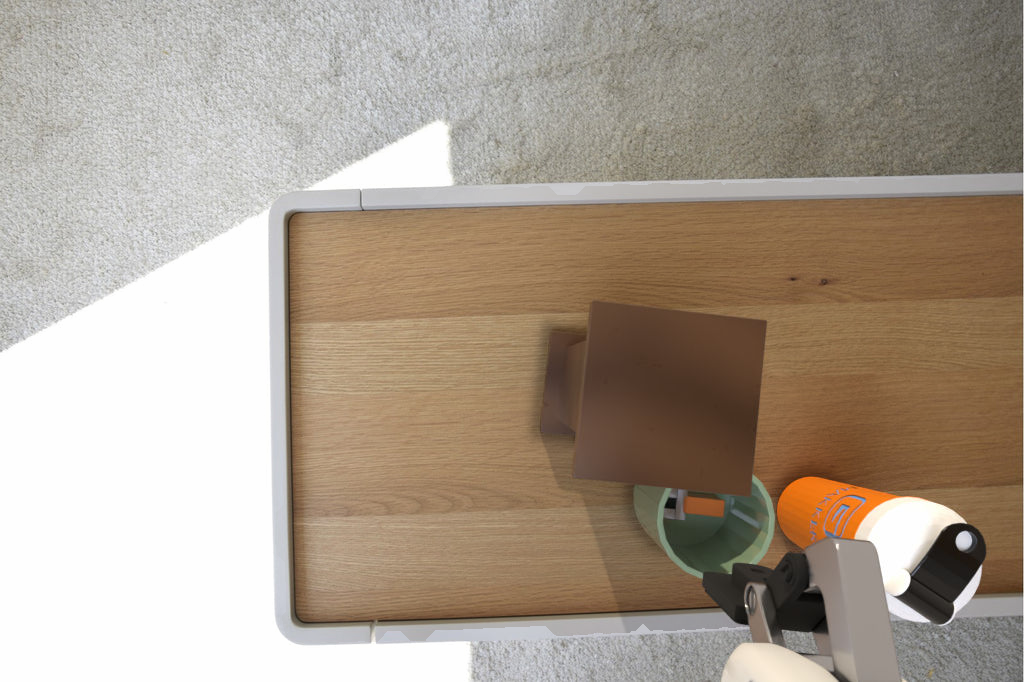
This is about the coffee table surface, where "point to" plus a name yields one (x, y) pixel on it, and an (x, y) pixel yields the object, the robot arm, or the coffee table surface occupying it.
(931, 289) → the coffee table surface
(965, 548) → the shaker bottle
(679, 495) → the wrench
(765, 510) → the green cup
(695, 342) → the stand
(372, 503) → the coffee table surface
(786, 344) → the coffee table surface
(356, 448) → the coffee table surface
